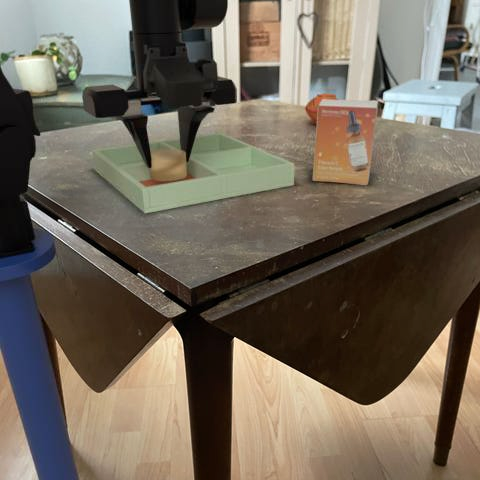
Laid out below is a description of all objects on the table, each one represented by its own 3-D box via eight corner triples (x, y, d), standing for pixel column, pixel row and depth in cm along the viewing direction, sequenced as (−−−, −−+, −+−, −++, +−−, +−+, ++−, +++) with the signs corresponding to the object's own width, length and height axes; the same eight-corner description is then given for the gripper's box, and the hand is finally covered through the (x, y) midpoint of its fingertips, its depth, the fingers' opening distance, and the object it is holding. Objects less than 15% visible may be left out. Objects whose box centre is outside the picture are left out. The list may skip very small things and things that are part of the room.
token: (158, 183, 70) (156, 160, 68) (144, 174, 74) (142, 151, 72) (193, 177, 72) (191, 155, 71) (178, 168, 76) (176, 147, 74)
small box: (311, 182, 78) (316, 104, 72) (316, 171, 82) (321, 97, 77) (368, 185, 76) (377, 106, 71) (370, 174, 81) (378, 99, 75)
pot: (294, 125, 109) (300, 89, 107) (319, 128, 114) (325, 94, 112) (323, 129, 104) (331, 92, 101) (348, 133, 109) (356, 97, 107)
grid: (144, 213, 68) (142, 189, 66) (94, 170, 84) (91, 150, 83) (294, 185, 77) (295, 163, 75) (221, 151, 93) (221, 132, 92)
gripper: (99, 40, 54) (119, 192, 62) (259, 32, 62) (258, 169, 70) (71, 34, 63) (92, 169, 71) (215, 28, 70) (219, 150, 78)
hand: (167, 164), depth 72 cm, fingers closed on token, 5 cm apart
